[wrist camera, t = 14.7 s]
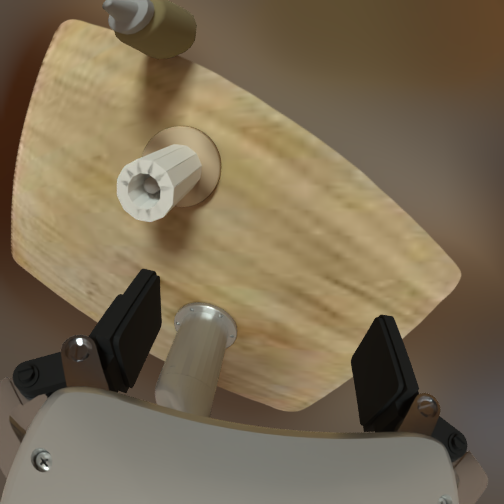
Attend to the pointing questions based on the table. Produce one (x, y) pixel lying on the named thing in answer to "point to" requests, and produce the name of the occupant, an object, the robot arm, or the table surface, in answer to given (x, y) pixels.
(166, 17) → the squeeze bottle
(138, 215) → the paper roll
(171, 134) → the roll stand
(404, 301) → the table surface
